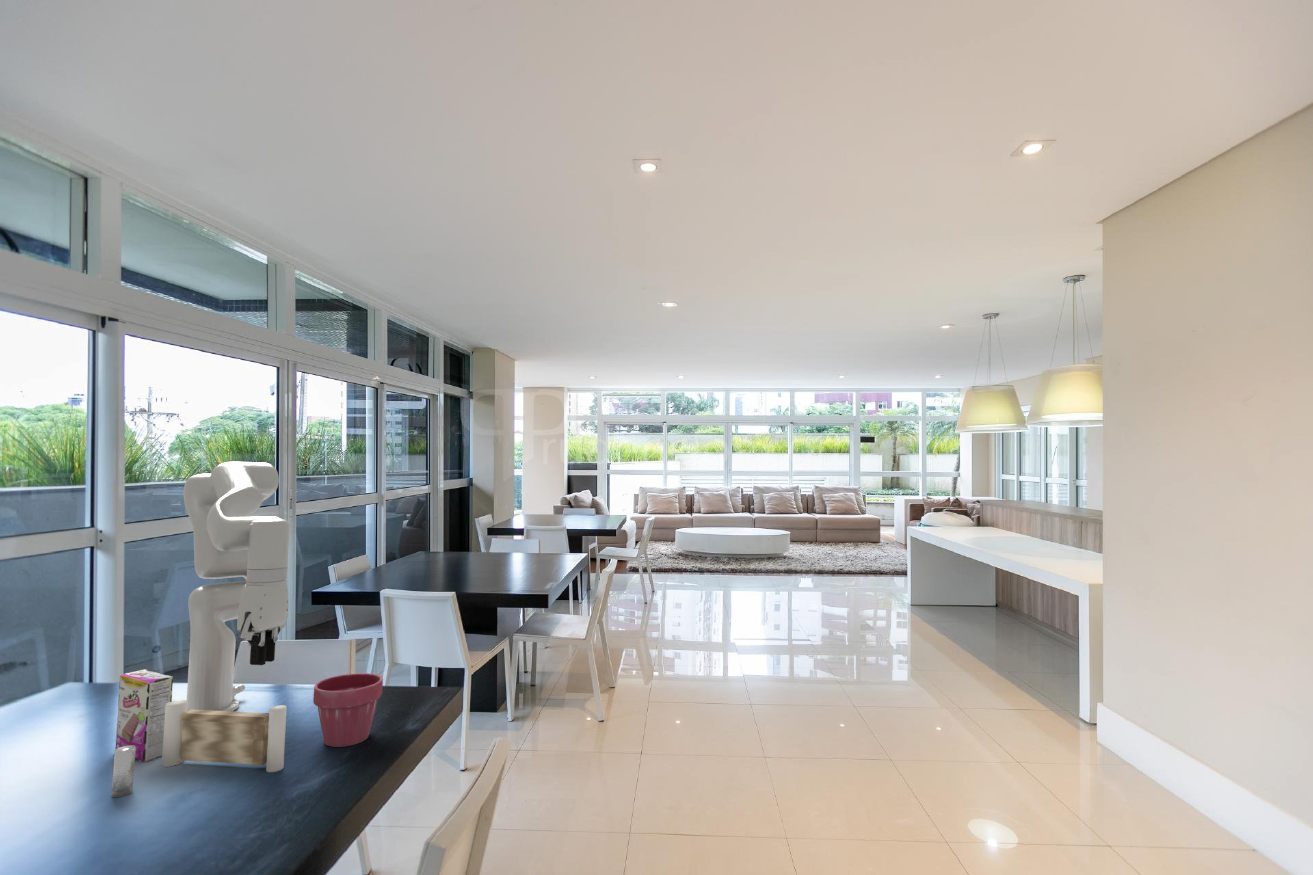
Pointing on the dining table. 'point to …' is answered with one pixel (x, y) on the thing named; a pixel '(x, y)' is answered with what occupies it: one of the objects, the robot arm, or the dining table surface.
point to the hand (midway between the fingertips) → (262, 662)
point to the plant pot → (347, 707)
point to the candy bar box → (143, 712)
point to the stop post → (123, 771)
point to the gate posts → (174, 735)
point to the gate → (225, 736)
